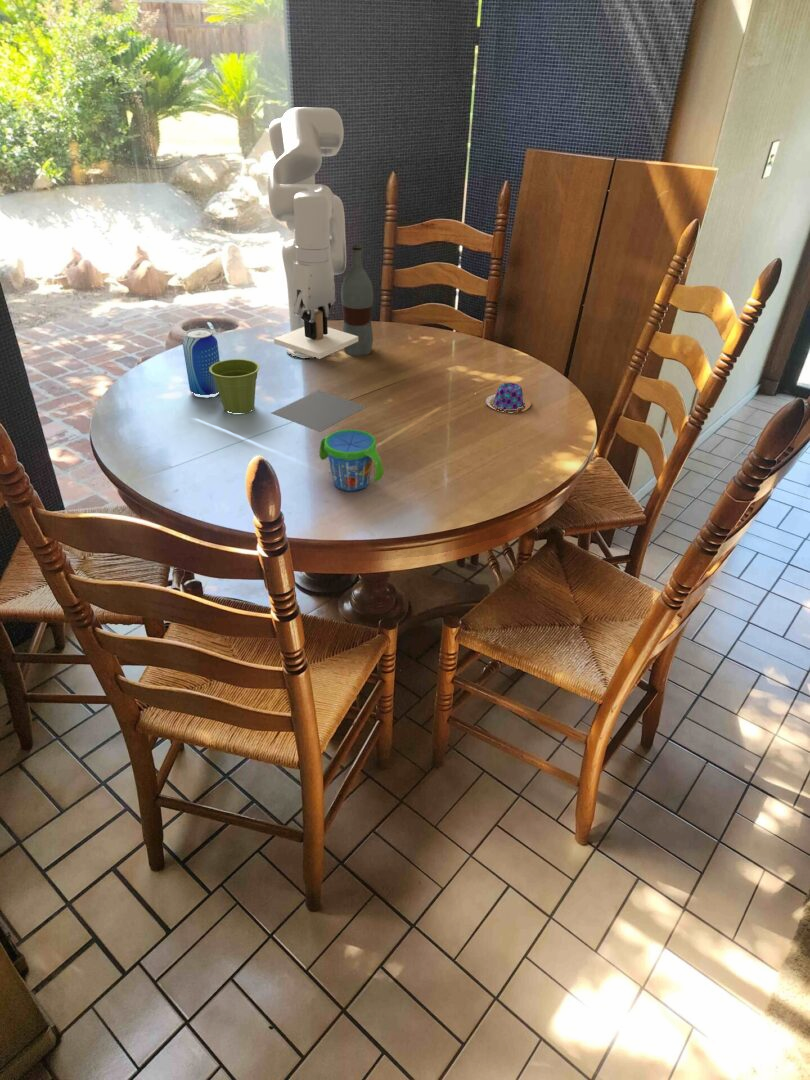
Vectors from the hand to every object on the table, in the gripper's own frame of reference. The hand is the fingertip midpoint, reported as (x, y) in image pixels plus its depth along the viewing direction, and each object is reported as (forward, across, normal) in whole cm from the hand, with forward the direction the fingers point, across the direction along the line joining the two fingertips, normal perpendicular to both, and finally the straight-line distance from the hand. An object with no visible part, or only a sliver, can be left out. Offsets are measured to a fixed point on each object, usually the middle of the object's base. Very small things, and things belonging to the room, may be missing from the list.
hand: (316, 334), depth 165 cm
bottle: (+21, -38, -18) cm, 47 cm away
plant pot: (+20, +13, -15) cm, 28 cm away
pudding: (+20, -34, +36) cm, 53 cm away
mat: (+20, +1, +1) cm, 20 cm away
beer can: (+20, +11, -29) cm, 37 cm away
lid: (+2, 0, 0) cm, 2 cm away
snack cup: (+19, +23, +29) cm, 41 cm away
